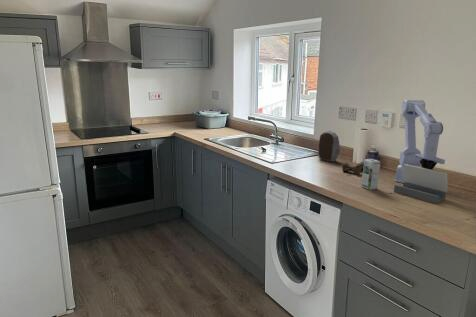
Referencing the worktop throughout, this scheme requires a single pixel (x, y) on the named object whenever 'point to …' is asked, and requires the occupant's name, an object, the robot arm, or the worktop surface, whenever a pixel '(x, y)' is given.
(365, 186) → the syrup box
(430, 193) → the cable duct
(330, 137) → the grey rounded bag
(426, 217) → the worktop surface
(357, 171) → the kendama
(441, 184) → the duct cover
